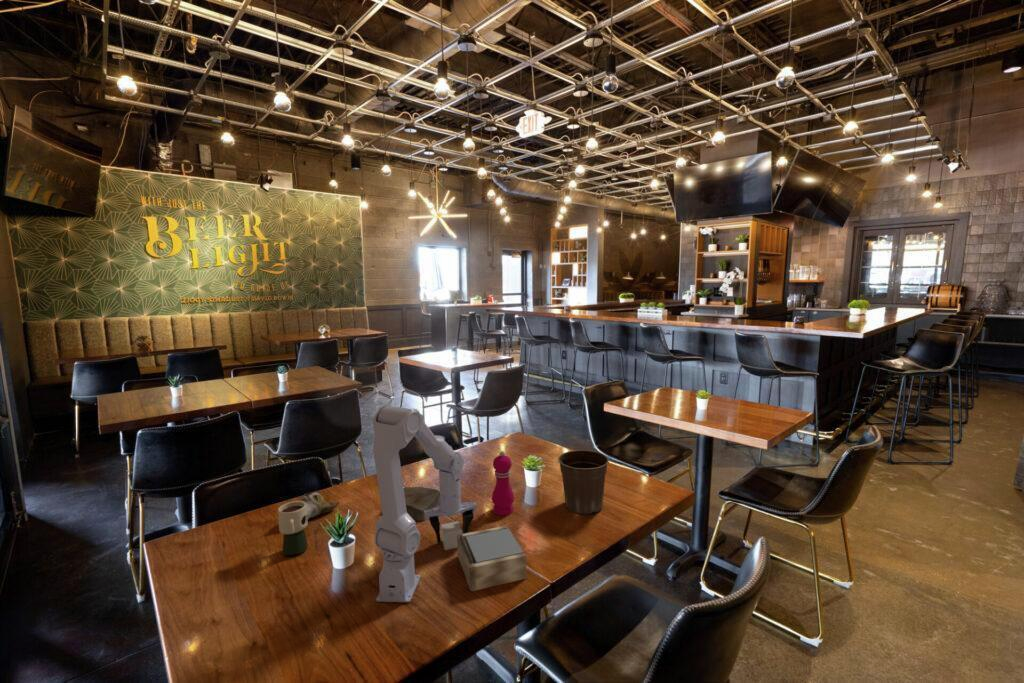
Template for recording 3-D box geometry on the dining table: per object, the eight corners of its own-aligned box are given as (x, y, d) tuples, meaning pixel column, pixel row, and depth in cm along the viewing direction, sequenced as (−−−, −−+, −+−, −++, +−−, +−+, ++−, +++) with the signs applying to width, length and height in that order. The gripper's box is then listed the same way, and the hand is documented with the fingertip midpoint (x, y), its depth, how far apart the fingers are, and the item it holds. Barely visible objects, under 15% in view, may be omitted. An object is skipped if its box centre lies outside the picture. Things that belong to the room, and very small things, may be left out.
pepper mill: (489, 508, 147) (487, 449, 144) (509, 503, 149) (508, 446, 147) (496, 518, 140) (494, 456, 138) (517, 513, 143) (516, 453, 140)
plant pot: (555, 515, 141) (554, 466, 139) (561, 492, 157) (561, 448, 155) (607, 520, 137) (608, 470, 135) (609, 497, 153) (609, 451, 151)
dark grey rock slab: (423, 522, 139) (423, 510, 138) (381, 518, 142) (380, 506, 142) (444, 498, 155) (443, 486, 154) (405, 494, 158) (404, 483, 158)
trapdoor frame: (470, 591, 106) (470, 564, 105) (457, 556, 121) (457, 532, 120) (526, 578, 111) (525, 552, 110) (507, 545, 125) (506, 522, 124)
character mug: (308, 558, 121) (305, 513, 119) (279, 565, 118) (275, 518, 117) (310, 538, 131) (307, 496, 129) (283, 544, 128) (279, 500, 127)
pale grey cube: (444, 550, 123) (444, 533, 123) (441, 540, 128) (441, 524, 128) (462, 546, 125) (462, 529, 124) (459, 537, 130) (458, 521, 129)
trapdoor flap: (476, 566, 108) (476, 562, 108) (465, 540, 119) (465, 536, 119) (523, 555, 112) (523, 552, 111) (508, 531, 123) (508, 528, 123)
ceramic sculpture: (278, 497, 138) (316, 480, 152) (278, 524, 139) (316, 505, 152) (304, 503, 134) (340, 485, 148) (304, 531, 135) (341, 511, 148)
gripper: (472, 483, 131) (473, 526, 132) (422, 490, 126) (424, 536, 128) (478, 493, 124) (479, 539, 126) (425, 501, 120) (427, 549, 121)
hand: (451, 538), depth 126 cm, fingers open, 7 cm apart
